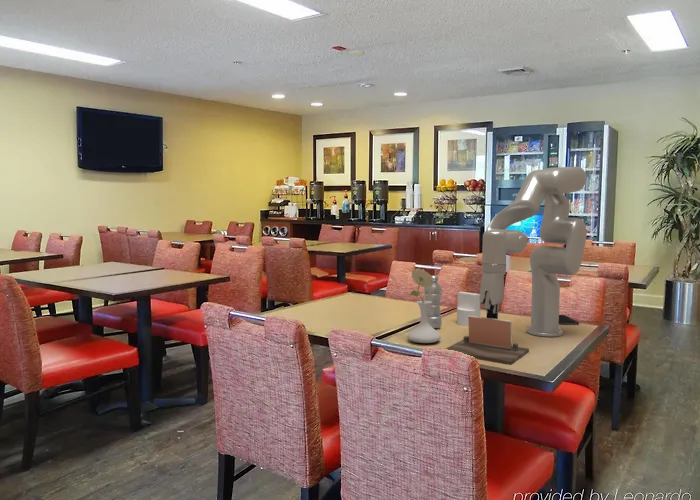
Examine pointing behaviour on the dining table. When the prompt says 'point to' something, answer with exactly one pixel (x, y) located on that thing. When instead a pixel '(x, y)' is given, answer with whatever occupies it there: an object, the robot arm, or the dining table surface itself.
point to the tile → (490, 332)
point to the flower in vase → (423, 311)
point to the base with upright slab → (467, 307)
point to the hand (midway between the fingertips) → (491, 325)
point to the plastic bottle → (434, 302)
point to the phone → (567, 320)
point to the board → (489, 351)
